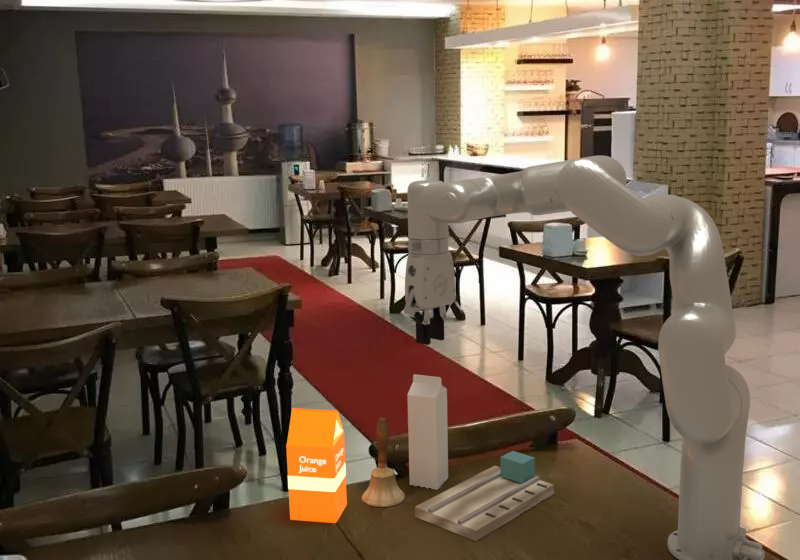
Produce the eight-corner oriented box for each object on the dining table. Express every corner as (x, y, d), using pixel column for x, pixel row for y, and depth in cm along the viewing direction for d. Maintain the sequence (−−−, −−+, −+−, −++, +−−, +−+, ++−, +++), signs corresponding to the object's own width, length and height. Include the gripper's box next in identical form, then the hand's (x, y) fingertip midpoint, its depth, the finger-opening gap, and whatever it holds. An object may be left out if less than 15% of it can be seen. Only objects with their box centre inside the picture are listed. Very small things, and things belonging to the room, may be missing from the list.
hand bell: (376, 485, 169) (374, 408, 166) (413, 493, 164) (411, 415, 161) (353, 501, 162) (350, 422, 159) (390, 511, 157) (388, 429, 154)
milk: (421, 474, 173) (418, 369, 169) (448, 478, 171) (447, 372, 167) (409, 485, 168) (406, 378, 164) (437, 490, 166) (435, 381, 162)
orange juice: (336, 523, 153) (331, 417, 149) (289, 520, 155) (284, 415, 151) (347, 504, 161) (343, 403, 157) (302, 501, 163) (297, 401, 159)
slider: (534, 476, 165) (534, 457, 164) (522, 483, 162) (522, 463, 162) (512, 469, 169) (512, 450, 168) (500, 476, 166) (500, 457, 165)
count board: (553, 494, 163) (553, 481, 162) (476, 541, 145) (475, 527, 145) (494, 474, 172) (494, 462, 172) (415, 516, 155) (414, 503, 154)
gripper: (413, 254, 151) (416, 354, 155) (471, 243, 163) (472, 335, 167) (383, 250, 157) (386, 347, 160) (441, 239, 168) (443, 330, 172)
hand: (430, 340), depth 163 cm, fingers open, 3 cm apart
